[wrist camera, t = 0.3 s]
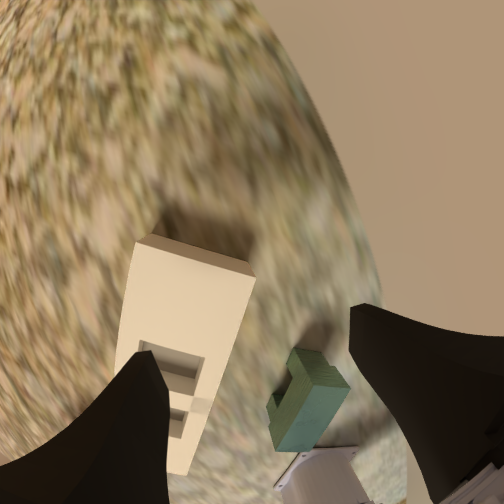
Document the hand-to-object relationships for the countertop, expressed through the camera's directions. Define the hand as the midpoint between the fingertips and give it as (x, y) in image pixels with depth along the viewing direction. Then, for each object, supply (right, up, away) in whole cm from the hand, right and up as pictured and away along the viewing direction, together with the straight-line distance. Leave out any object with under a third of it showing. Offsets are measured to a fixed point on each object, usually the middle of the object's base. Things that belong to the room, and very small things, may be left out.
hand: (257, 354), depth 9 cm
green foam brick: (+3, -8, +13) cm, 15 cm away
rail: (-7, -6, +11) cm, 14 cm away
